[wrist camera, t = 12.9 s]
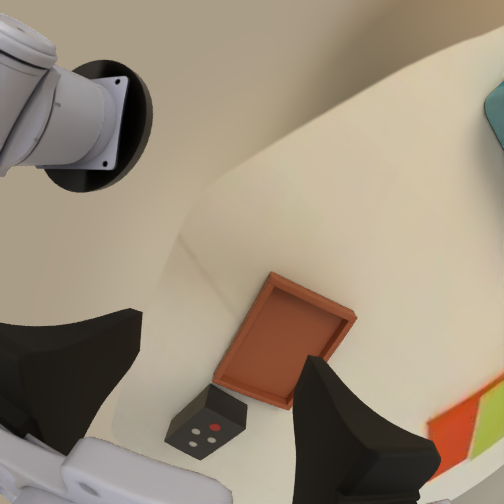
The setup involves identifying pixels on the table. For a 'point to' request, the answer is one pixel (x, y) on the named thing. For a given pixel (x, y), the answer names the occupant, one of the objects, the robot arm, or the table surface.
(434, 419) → the table surface
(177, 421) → the remote
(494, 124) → the data package
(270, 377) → the dish
